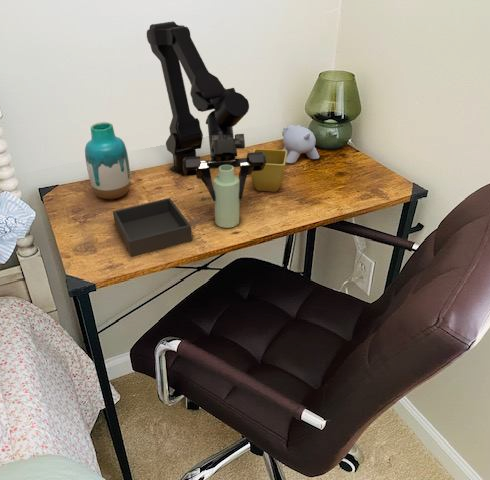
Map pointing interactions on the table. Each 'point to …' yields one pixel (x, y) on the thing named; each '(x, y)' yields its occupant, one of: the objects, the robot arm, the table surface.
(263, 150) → the flower pot
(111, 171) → the vase
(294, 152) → the hippopotamus toy
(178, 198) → the table surface
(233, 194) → the bottle
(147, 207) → the bin
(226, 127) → the robot arm
